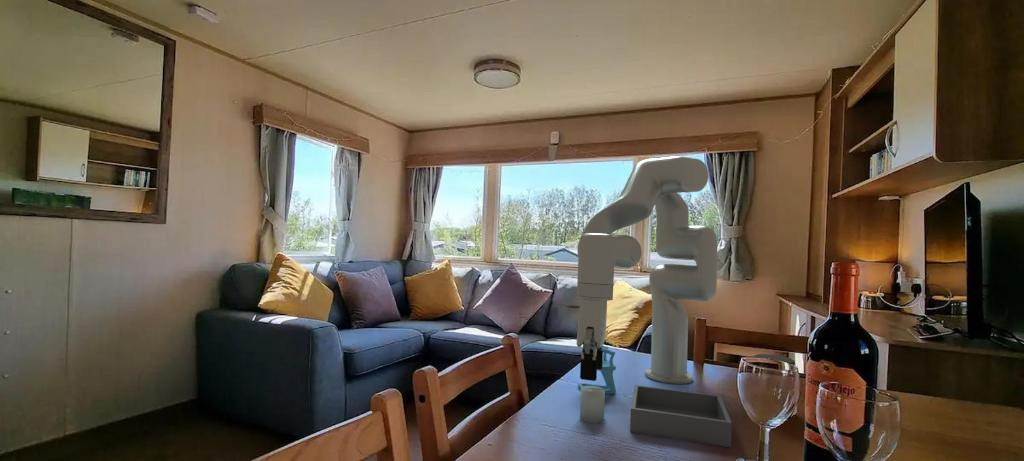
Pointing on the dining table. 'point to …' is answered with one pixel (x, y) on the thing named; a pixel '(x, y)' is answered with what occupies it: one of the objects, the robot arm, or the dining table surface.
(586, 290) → the robot arm
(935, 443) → the dining table surface
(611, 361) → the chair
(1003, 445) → the dining table surface
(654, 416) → the bin
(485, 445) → the dining table surface
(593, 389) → the pale green capsule
